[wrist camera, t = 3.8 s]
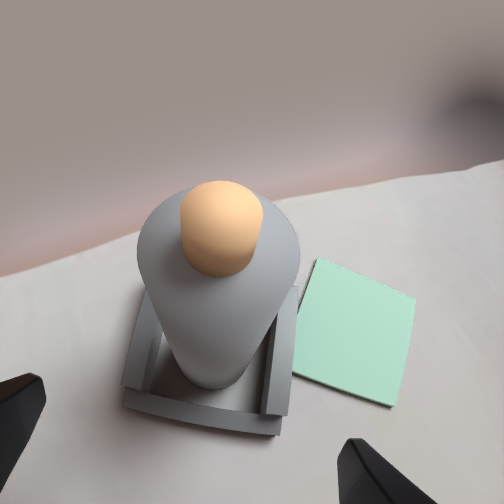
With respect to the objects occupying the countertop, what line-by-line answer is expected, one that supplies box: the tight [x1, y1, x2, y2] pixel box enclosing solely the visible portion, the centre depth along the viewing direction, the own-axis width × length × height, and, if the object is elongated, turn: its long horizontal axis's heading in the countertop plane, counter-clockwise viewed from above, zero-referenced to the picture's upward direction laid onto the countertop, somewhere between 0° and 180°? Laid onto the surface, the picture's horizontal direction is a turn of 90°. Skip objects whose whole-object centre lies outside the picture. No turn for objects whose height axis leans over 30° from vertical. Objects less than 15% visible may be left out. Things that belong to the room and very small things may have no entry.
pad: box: [292, 257, 416, 407], centre depth 22 cm, size 9×9×1 cm
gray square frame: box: [121, 285, 299, 436], centre depth 19 cm, size 9×9×2 cm
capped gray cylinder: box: [137, 181, 300, 389], centre depth 14 cm, size 5×5×14 cm
